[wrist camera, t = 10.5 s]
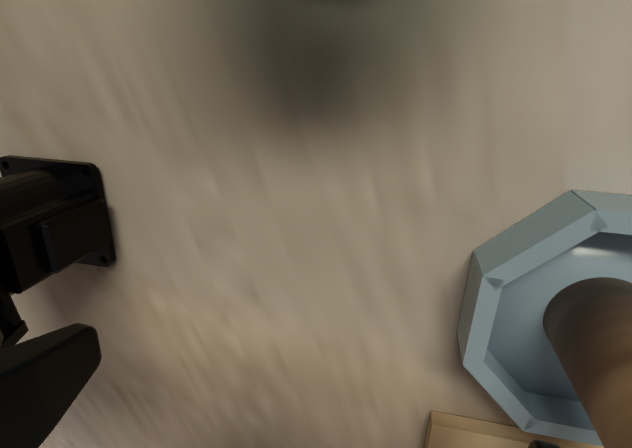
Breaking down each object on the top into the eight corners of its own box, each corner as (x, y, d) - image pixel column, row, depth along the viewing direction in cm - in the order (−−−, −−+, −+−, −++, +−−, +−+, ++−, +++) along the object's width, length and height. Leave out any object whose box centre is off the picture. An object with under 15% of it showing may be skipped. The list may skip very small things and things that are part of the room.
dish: (446, 380, 23) (450, 417, 20) (487, 182, 18) (499, 200, 16) (682, 422, 21) (718, 468, 18) (798, 209, 16) (865, 234, 14)
